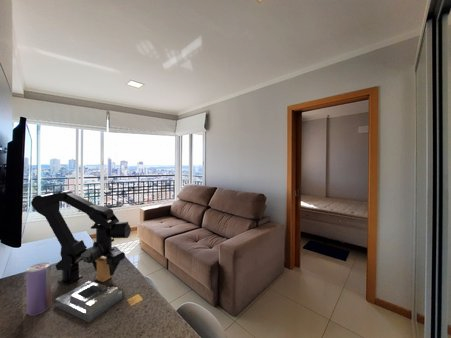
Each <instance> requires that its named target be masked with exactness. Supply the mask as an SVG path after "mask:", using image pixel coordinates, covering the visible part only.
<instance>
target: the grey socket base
mask: <svg viewBox="0 0 451 338" xmlns="http://www.w3.org/2000/svg"><path fill="white" fill-rule="evenodd" d="M122 299H123V291H122V290H119V287H118V286H115V285H112V286H108V285H104V284H102V283H99V282H97V281H94V280H88V281H86V282H84V283H83V284H81V285H79V286H77V287H76V288H73V289H72V290H69V291H67V292H66V293H64V294H62V295H60V296H58V297H57V298H55V299H54V307H55V308H58V309H60V310H61V311H64V312H65V313H69V315H73V316H74V317H77V318H79V319H80V320H83V321H85V322H87V323H90V322H91V321H93V320H94V319H96V318H97V317H99V316H100V315H101V314H103V313H104V312H105V311H107V310H108V309H110V308H111V307H113V305H115V304H116V303H118V302H119V301H121V300H122Z"/></svg>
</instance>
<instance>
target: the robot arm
mask: <svg viewBox="0 0 451 338" xmlns="http://www.w3.org/2000/svg"><path fill="white" fill-rule="evenodd" d="M61 202H63V203H65V204H67V205H69V206H71V207H73V208H75V210H76V209H77V210H78V211H81V212H82V213H84V214H86V215H87V216H88V218H89V220H91V221H92V222H93V225H92V226H91V227H90V229H91V230H93V229H94V230H96V231H95V236H96V237H95V241H93V243H92V244H93V245H92V246H90V247H87V246H86V245H85V242H84V240H83V239H81V240H77V239H75V237H74V235H73V233H72V232H71V230H70V229H71V228H70V227H69V226H68V224H67V222H66V220H65V219H64V217H63V215H62V213H61V211H60V210H61V209H60V208H61ZM30 204H31V206H32V208H33V209H34V211H36V212H37V213H38V214H40V215H42V216H43V217H45V219H46V222H47V224H49V227H50V228H51V230H52V232H53V234H54V236H55V237H56V239H57V241H58V243H59V244H60V252H59V253H60V254H59V255H60V257H61V259H60V260H59V261H58V262H57V263H56V264H55V269H56V271H61V277H60V278H59V279H57V282H58V283H61V284H64V285H68V284H71V283H73V282H75V281H77V280H79V279H81V278H82V277H83V276H84V275H83V274H81V273H80V264H79V263H80V262H81V261H83V262H84V263H87V264H91V265H92V266H93V268H94V270H95V272H96V273H97V262H95V260H97V259H98V258H100V257H102V256H104V257H107V258H106V261H107V263H106V264H107V265H109V271H110V276H112V277H113V276H114V275H115V272H116V270H117V268H118V266H119V264H120V262H121V261H122V260H124V259H125V258H126V253H125V251H124V252H123V251H121V250H116V251H115V247H113V246H112V245H113V242H115V239H128V238H129V237H130V235H131V232H132V231H131V229H132V227H131V226H130V224H129V221H124V222H123V221H122V222H120V220H119V219H118V218H117V216H116V214H115V213H114V210H113V209H112V208H110V207H107V206H105V205H98V204H95V203H93V202H91V201H89V200H87V199H85V198H83V197H81V196H80V195H78V194H76V193H74V192H73V191H71V190H69V189H68V190H62V191H58V192H55V193H52V192H51V193H45V194H39V195H35V196H34V197H33V198H32V200H31V202H30ZM113 251H114V252H113Z"/></svg>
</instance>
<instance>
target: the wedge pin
mask: <svg viewBox="0 0 451 338" xmlns="http://www.w3.org/2000/svg"><path fill="white" fill-rule="evenodd" d="M106 258H107V257H104V256H102V257H100V258H98V259H97V260H95V262H97V272H96V281H99V282H102V283H104V282H105V281H107V280H109V279H111V278H112V277H113V275H112V276H110V271H109V265H107V264H106V263H107V261H106Z"/></svg>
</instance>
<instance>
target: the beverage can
mask: <svg viewBox="0 0 451 338" xmlns="http://www.w3.org/2000/svg"><path fill="white" fill-rule="evenodd" d="M51 268H52V267H51V263H50V262H40V263H36V264H32V265H31V266H29V267H28V268H27V269H26V270H27V271H26V272H25V278H26V281H25V282H26V314H27V315H28V316H32V317H33V316H38V315H41V314H43V313H45V312H46V311H48V310H49V308H50V307H51V305H52V273H51V272H52V271H51Z"/></svg>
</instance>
